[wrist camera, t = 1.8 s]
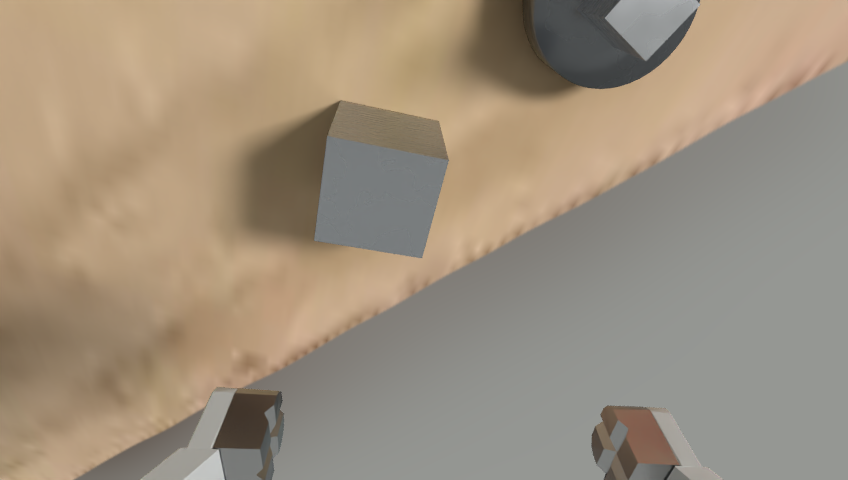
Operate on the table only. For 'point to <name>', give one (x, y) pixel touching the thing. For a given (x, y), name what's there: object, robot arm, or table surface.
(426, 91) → the table surface
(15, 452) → the table surface
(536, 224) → the table surface
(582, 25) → the ratchet
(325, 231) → the grey wooden cube
